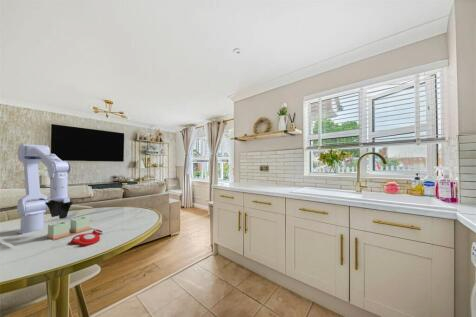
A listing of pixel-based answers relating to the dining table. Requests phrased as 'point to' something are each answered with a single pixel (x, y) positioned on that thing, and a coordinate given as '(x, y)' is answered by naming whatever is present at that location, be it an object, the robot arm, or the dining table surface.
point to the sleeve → (58, 230)
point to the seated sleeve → (80, 224)
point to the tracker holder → (87, 238)
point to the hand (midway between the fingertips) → (59, 217)
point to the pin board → (68, 235)
